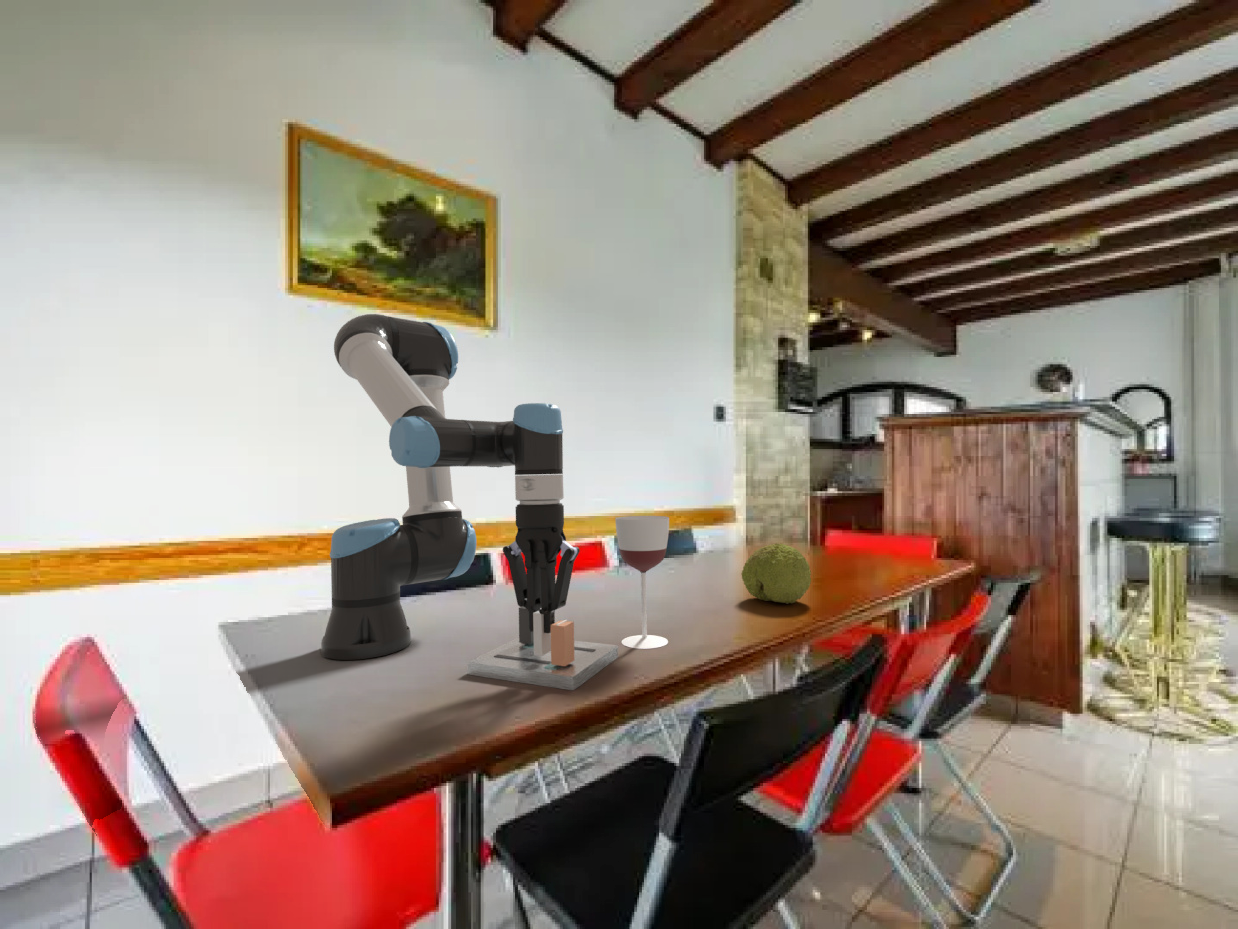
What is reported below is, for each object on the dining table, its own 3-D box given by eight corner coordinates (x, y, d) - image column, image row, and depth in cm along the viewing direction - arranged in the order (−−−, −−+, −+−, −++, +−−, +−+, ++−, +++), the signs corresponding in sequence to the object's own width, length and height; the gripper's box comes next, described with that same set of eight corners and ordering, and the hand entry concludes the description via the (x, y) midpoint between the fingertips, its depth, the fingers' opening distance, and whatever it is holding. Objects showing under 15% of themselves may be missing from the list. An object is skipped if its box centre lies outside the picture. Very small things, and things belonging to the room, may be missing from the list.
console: (467, 674, 91) (467, 661, 91) (523, 645, 106) (523, 634, 106) (573, 690, 83) (573, 676, 83) (618, 657, 98) (617, 644, 98)
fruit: (733, 605, 134) (727, 544, 141) (765, 617, 143) (758, 559, 150) (796, 591, 124) (786, 526, 131) (827, 604, 133) (816, 543, 140)
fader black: (519, 642, 100) (518, 606, 100) (528, 637, 102) (528, 603, 102) (531, 644, 99) (530, 607, 99) (540, 639, 101) (539, 603, 101)
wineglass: (668, 650, 101) (665, 519, 102) (613, 647, 103) (610, 519, 104) (674, 635, 110) (671, 515, 111) (623, 633, 112) (620, 515, 113)
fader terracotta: (551, 664, 88) (550, 623, 88) (561, 658, 91) (560, 619, 91) (565, 666, 87) (564, 625, 87) (574, 660, 90) (573, 620, 90)
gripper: (491, 503, 90) (493, 655, 89) (564, 503, 84) (567, 665, 84) (518, 501, 97) (520, 642, 96) (587, 501, 91) (590, 650, 91)
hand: (542, 652), depth 90 cm, fingers closed
